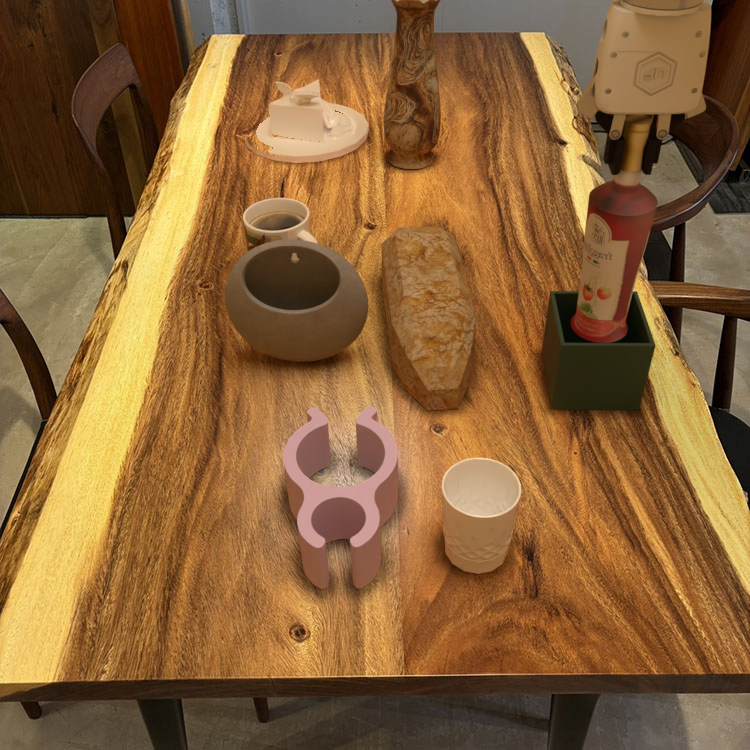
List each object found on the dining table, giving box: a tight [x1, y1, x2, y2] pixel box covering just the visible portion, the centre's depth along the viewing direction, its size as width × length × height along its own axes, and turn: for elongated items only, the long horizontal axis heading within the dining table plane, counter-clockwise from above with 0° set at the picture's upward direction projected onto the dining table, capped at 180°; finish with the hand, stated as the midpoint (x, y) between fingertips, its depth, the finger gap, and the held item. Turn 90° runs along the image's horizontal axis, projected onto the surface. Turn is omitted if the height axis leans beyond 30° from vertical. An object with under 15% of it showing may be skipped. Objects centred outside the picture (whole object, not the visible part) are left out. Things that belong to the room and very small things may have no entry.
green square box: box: [540, 290, 656, 411], centre depth 106 cm, size 11×11×10 cm
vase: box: [383, 0, 442, 170], centre depth 148 cm, size 10×11×30 cm
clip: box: [282, 405, 399, 590], centre depth 92 cm, size 20×12×7 cm, turn 0°
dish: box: [242, 79, 370, 164], centre depth 163 cm, size 25×25×11 cm
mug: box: [242, 197, 319, 260], centre depth 125 cm, size 10×12×11 cm
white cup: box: [441, 457, 522, 575], centre depth 86 cm, size 8×8×10 cm
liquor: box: [571, 114, 659, 343], centre depth 95 cm, size 7×7×28 cm
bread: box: [380, 225, 477, 411], centre depth 116 cm, size 36×11×10 cm, turn 4°
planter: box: [224, 240, 369, 363], centre depth 108 cm, size 18×7×19 cm, turn 88°
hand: (628, 167), depth 90 cm, fingers closed on liquor, 2 cm apart
